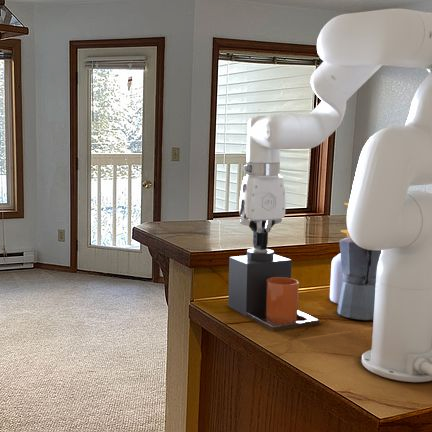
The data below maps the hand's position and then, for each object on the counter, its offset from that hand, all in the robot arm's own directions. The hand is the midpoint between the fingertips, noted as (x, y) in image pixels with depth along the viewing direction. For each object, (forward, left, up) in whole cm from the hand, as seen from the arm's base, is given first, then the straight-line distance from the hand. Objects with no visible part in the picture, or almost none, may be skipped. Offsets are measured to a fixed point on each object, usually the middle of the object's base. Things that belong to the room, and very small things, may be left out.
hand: (260, 248), depth 130 cm
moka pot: (-14, -18, -15) cm, 27 cm away
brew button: (0, 0, -2) cm, 2 cm away
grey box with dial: (0, 0, -15) cm, 15 cm away
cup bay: (-9, 0, -15) cm, 17 cm away
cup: (-9, 0, -15) cm, 17 cm away
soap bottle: (-4, -24, -15) cm, 28 cm away
